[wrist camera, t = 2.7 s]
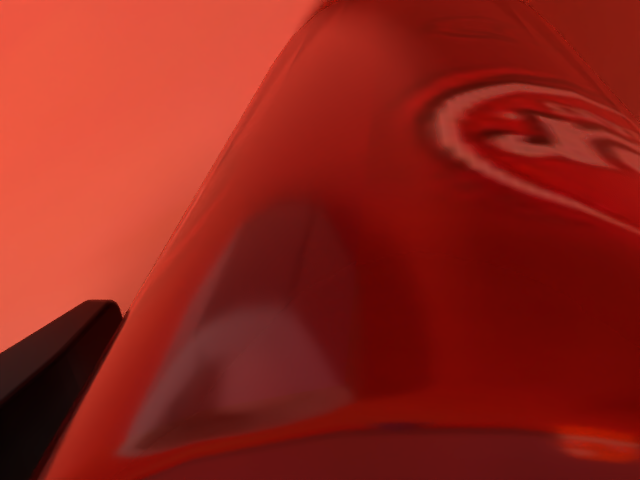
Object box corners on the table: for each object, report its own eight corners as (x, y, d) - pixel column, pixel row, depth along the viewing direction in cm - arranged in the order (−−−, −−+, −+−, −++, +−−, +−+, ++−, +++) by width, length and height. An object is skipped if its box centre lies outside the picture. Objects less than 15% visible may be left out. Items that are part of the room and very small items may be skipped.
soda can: (531, -101, 11) (1747, 322, 1) (615, 216, 14) (1120, 1056, 4) (201, 59, 13) (-383, 674, 3) (337, 302, 17) (248, 985, 7)
